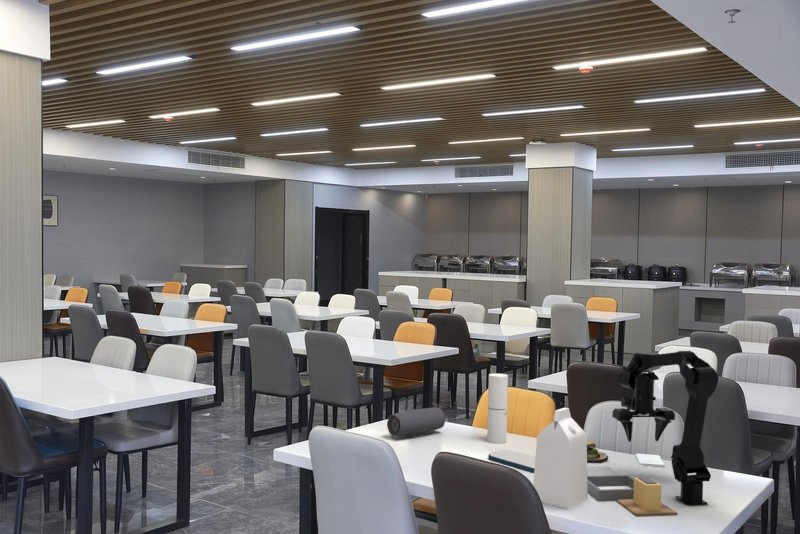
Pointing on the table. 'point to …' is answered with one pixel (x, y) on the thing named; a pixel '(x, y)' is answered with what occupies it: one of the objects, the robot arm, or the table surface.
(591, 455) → the burger
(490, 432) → the cylindrical container
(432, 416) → the bluetooth speaker
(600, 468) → the equipment case
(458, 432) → the table surface
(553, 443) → the milk
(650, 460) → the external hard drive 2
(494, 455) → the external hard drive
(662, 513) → the walnut board
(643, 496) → the ochre module
